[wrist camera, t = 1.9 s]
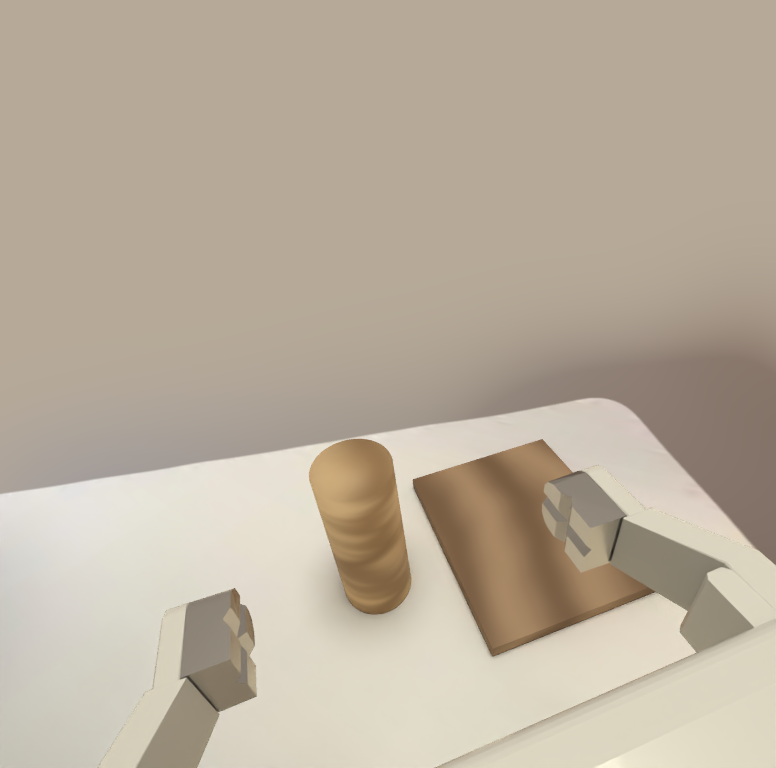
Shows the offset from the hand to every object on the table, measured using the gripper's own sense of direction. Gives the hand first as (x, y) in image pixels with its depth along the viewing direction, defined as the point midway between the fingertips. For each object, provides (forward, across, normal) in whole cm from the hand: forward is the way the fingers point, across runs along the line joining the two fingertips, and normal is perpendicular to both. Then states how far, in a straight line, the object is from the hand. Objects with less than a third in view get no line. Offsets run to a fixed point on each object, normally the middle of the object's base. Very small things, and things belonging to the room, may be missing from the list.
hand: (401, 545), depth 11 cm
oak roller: (+12, 0, +21) cm, 24 cm away
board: (+12, -12, +21) cm, 27 cm away
